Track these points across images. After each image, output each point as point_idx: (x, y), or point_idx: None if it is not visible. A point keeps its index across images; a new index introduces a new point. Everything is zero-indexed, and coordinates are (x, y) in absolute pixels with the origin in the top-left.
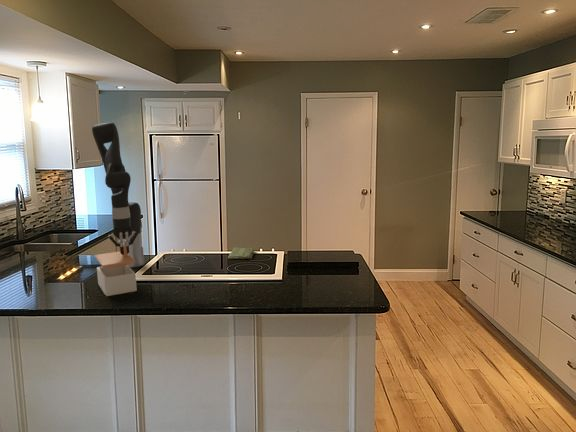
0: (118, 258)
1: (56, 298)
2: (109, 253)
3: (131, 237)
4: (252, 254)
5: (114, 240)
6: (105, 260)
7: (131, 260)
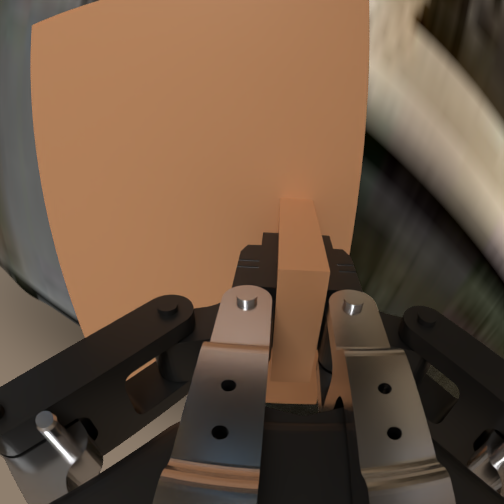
0: (211, 298)
1: (8, 182)
2: (156, 13)
3: (474, 392)
4: None
5: (121, 434)
6: (103, 288)
7: (291, 396)
